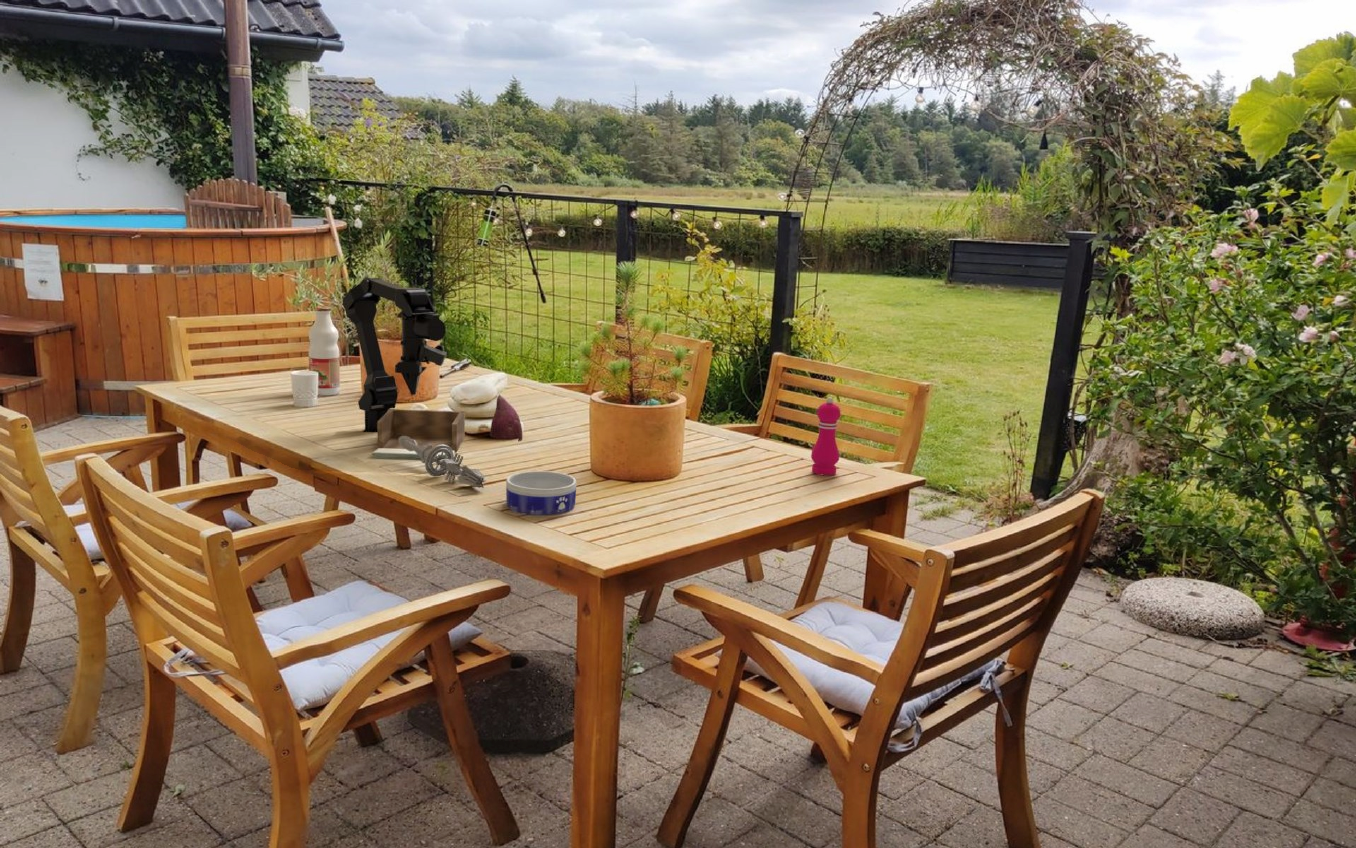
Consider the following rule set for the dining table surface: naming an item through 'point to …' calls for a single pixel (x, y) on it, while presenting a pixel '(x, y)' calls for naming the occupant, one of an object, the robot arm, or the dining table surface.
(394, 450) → the tailgate
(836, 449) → the pepper mill
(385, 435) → the crate
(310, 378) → the white cup
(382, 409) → the robot arm
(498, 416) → the vegetable
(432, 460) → the spaceship
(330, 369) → the fruit juice
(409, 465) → the dining table surface
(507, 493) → the dog bowl
